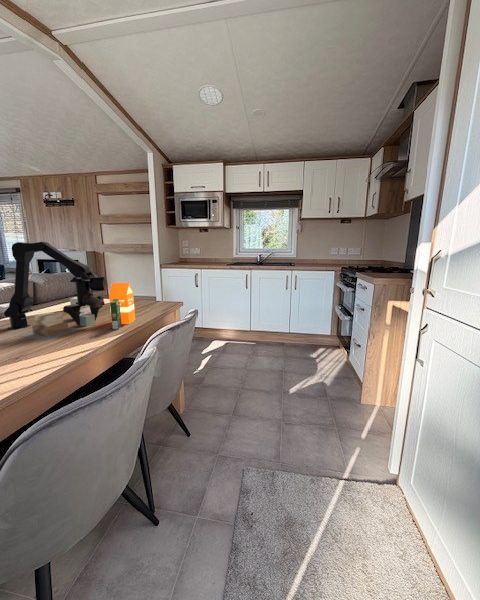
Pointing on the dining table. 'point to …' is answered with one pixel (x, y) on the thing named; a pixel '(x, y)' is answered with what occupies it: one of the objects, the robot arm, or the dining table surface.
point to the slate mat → (49, 336)
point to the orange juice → (123, 301)
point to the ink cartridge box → (82, 310)
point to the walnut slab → (50, 329)
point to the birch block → (49, 319)
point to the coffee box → (115, 314)
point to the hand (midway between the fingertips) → (87, 322)
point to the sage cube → (87, 319)
